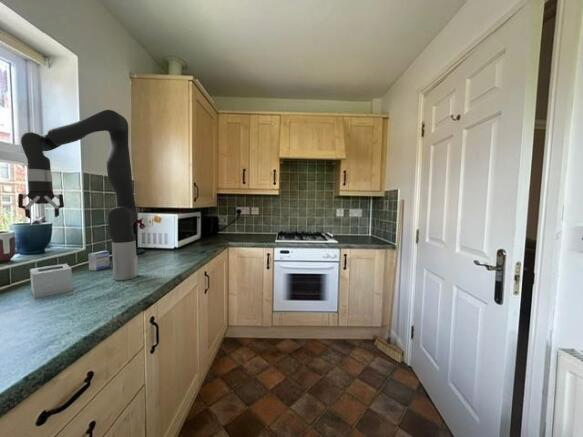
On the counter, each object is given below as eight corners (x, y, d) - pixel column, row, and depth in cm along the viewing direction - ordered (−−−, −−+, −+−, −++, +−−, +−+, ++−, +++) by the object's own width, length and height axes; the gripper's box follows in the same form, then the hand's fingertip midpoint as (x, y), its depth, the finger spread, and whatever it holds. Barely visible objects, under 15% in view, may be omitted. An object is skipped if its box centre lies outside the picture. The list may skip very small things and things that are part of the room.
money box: (67, 284, 110) (66, 263, 109) (72, 290, 102) (71, 268, 102) (31, 291, 101) (29, 268, 101) (34, 298, 94) (32, 274, 93)
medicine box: (96, 270, 129) (95, 254, 129) (88, 270, 130) (87, 253, 130) (109, 266, 137) (109, 250, 136) (103, 266, 138) (102, 250, 137)
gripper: (60, 181, 118) (63, 216, 120) (15, 179, 108) (18, 218, 109) (63, 181, 114) (65, 217, 115) (16, 179, 103) (19, 219, 104)
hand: (42, 217), depth 112 cm, fingers open, 8 cm apart
